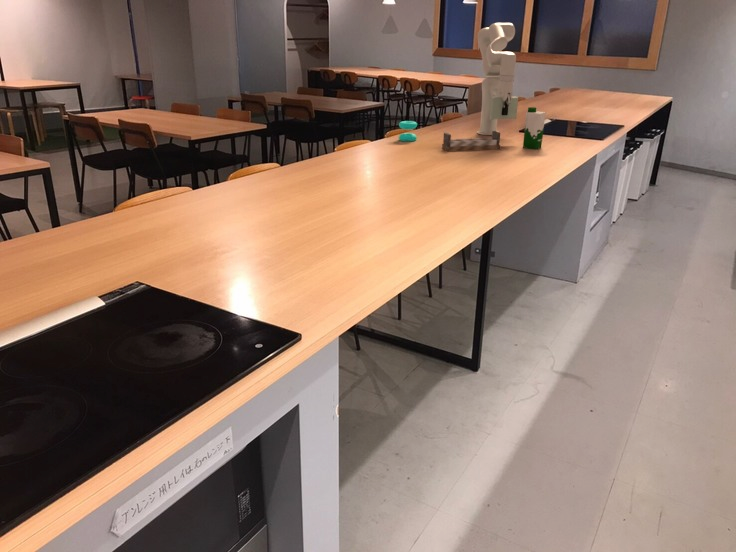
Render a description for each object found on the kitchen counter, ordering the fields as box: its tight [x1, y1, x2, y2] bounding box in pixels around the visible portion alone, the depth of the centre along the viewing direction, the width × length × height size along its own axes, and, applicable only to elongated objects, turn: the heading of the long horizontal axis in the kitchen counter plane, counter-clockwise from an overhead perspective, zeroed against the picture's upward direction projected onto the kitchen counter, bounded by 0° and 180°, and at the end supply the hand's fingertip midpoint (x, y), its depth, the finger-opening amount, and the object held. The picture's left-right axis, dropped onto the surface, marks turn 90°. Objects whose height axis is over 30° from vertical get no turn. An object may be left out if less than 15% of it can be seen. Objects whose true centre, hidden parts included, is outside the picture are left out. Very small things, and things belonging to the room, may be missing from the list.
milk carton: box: [522, 106, 547, 150], centre depth 298 cm, size 9×9×20 cm
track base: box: [441, 130, 501, 152], centre depth 298 cm, size 28×10×8 cm, turn 101°
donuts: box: [398, 120, 418, 142], centre depth 321 cm, size 10×10×10 cm
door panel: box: [489, 96, 519, 120], centre depth 309 cm, size 14×3×11 cm, turn 101°
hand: (503, 114), depth 310 cm, fingers closed on door panel, 3 cm apart
